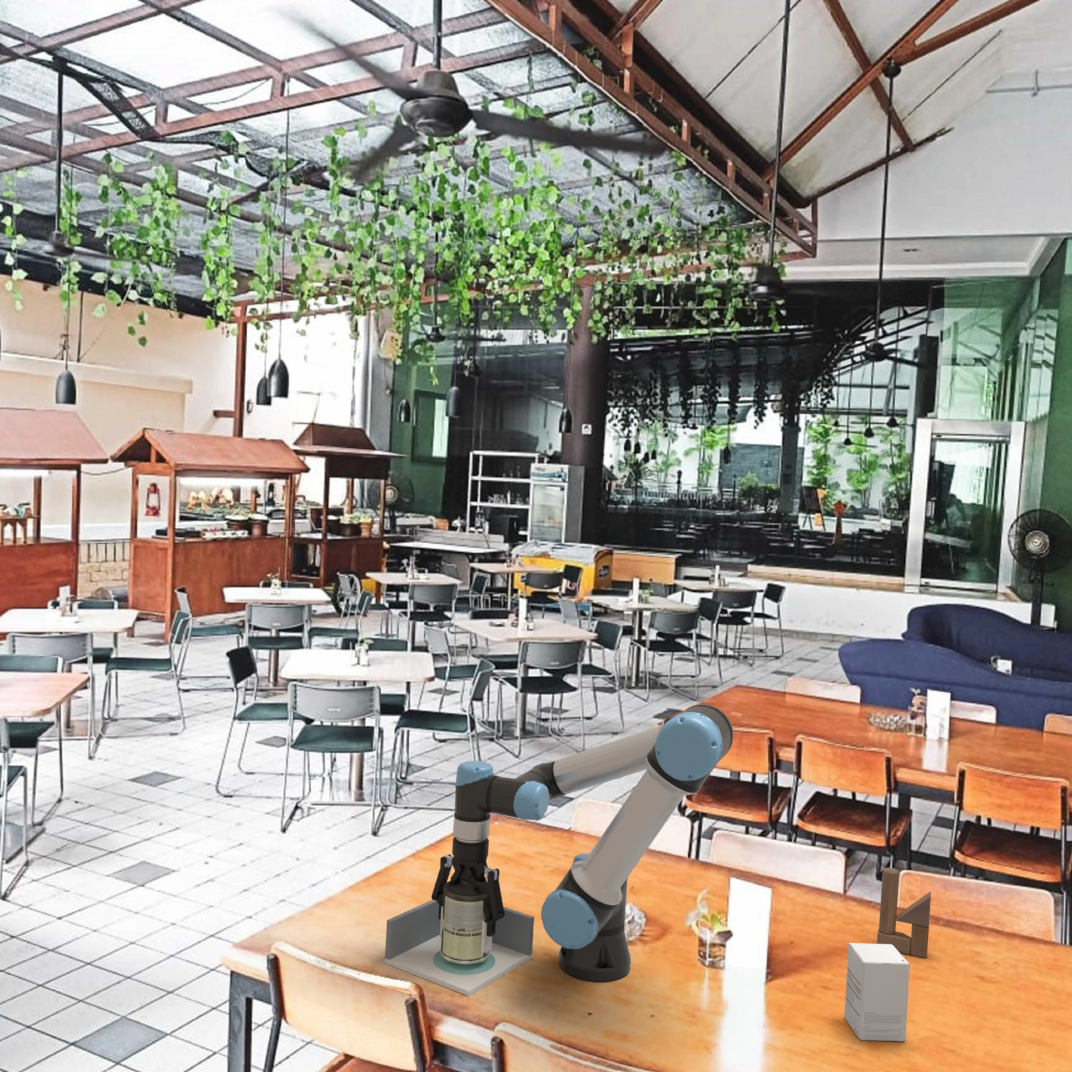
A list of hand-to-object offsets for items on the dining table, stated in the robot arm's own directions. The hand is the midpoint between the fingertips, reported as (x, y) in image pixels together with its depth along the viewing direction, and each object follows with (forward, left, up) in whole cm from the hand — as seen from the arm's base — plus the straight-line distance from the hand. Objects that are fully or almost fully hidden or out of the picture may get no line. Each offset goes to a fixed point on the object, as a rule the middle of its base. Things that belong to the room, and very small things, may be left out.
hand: (465, 942), depth 211 cm
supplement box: (-76, -30, -5) cm, 82 cm away
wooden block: (-71, -71, -5) cm, 100 cm away
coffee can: (0, 0, -2) cm, 2 cm away
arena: (+2, -1, -5) cm, 5 cm away
